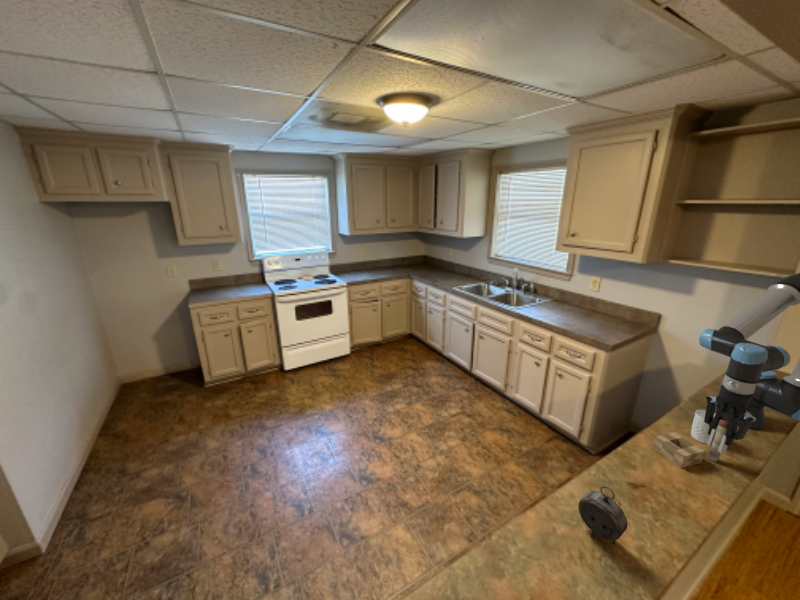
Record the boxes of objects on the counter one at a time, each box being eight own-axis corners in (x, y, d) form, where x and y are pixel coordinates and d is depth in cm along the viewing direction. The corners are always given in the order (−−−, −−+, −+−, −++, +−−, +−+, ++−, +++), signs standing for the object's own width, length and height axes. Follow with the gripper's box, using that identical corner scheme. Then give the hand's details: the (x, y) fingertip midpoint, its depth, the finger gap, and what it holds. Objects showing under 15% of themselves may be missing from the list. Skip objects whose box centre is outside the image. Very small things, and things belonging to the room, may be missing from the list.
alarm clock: (622, 544, 89) (636, 497, 84) (613, 556, 86) (626, 508, 81) (581, 513, 97) (592, 469, 92) (571, 523, 94) (581, 478, 89)
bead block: (672, 442, 126) (675, 431, 124) (701, 462, 117) (705, 450, 115) (652, 447, 123) (655, 436, 122) (680, 468, 114) (684, 456, 112)
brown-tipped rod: (710, 454, 120) (723, 417, 115) (719, 460, 117) (733, 422, 112) (704, 456, 119) (717, 418, 114) (714, 462, 116) (727, 424, 111)
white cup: (720, 446, 124) (728, 424, 121) (696, 443, 126) (704, 421, 123) (706, 432, 131) (714, 411, 128) (683, 429, 133) (690, 408, 130)
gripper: (702, 378, 116) (684, 434, 123) (759, 404, 101) (735, 466, 108) (717, 375, 117) (699, 431, 125) (775, 401, 103) (751, 461, 110)
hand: (716, 447), depth 116 cm, fingers closed on brown-tipped rod, 3 cm apart
